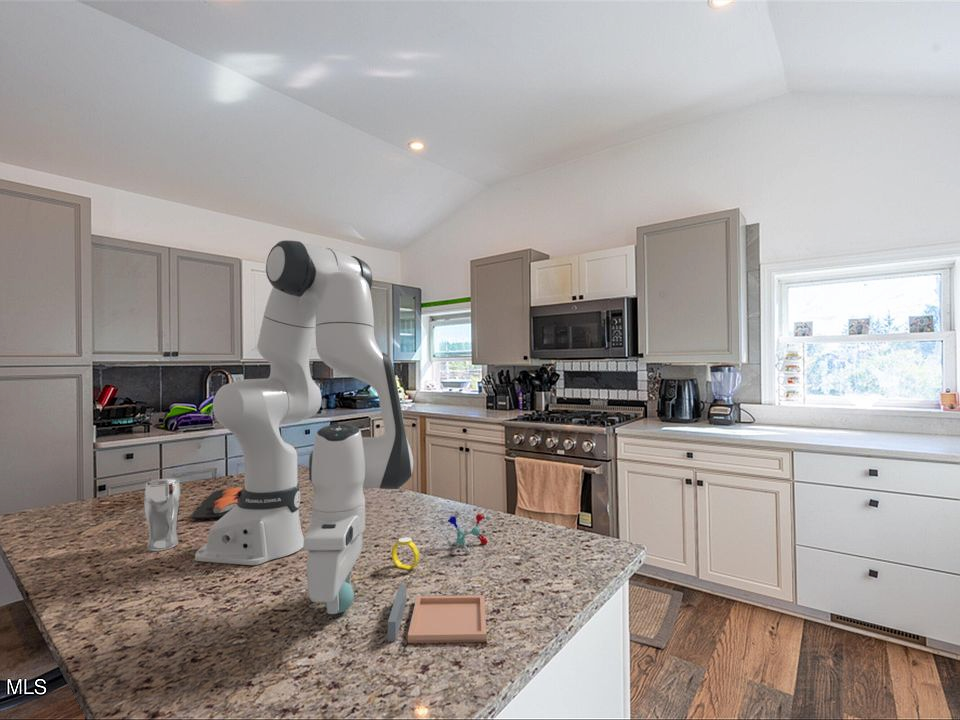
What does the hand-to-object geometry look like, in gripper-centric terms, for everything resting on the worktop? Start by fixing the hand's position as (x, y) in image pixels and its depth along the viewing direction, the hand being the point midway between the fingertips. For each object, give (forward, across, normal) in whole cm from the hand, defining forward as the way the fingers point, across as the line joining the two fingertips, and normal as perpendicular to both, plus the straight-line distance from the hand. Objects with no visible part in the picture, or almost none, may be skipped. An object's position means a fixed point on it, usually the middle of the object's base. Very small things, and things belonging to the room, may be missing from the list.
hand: (339, 601), depth 81 cm
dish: (+2, +4, +19) cm, 19 cm away
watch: (+2, -17, +9) cm, 19 cm away
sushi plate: (+2, -64, -42) cm, 77 cm away
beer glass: (+2, -30, -49) cm, 57 cm away
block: (+2, +3, +10) cm, 11 cm away
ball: (+2, 0, 0) cm, 2 cm away
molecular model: (+2, -28, +21) cm, 35 cm away
